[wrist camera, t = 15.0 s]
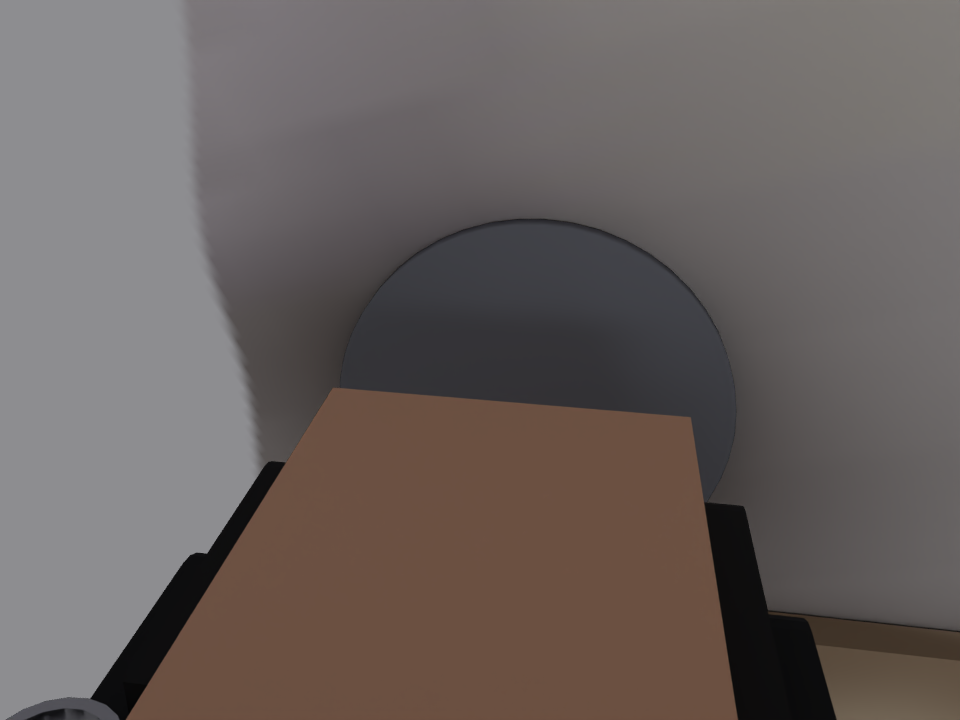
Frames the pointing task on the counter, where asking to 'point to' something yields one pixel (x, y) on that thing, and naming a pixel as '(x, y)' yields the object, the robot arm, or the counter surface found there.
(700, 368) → the coaster
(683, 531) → the block
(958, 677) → the board
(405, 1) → the counter surface
